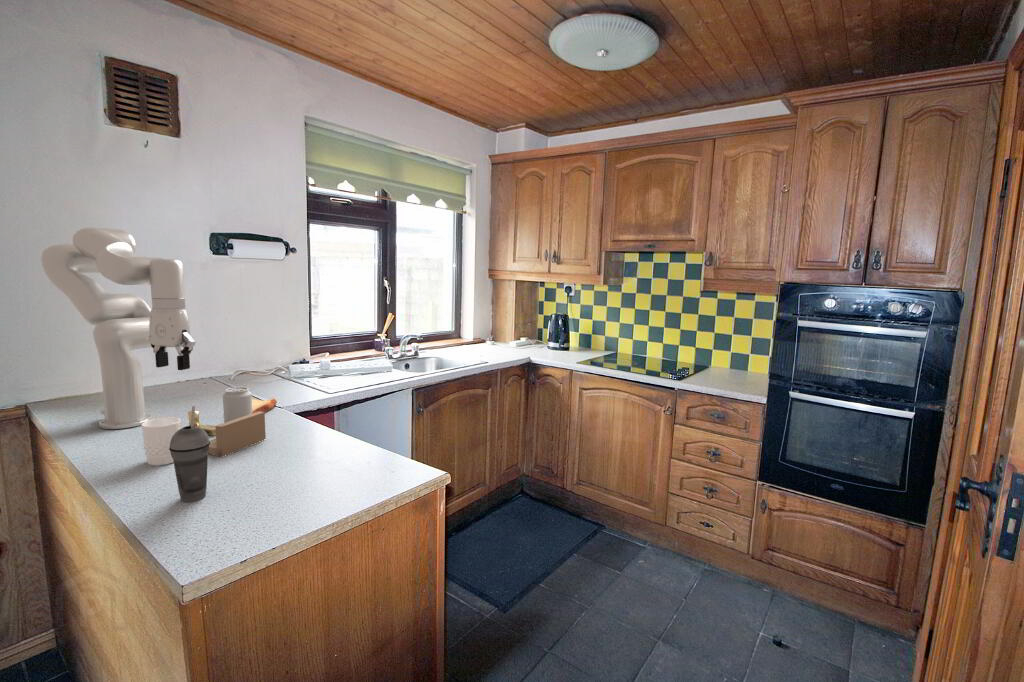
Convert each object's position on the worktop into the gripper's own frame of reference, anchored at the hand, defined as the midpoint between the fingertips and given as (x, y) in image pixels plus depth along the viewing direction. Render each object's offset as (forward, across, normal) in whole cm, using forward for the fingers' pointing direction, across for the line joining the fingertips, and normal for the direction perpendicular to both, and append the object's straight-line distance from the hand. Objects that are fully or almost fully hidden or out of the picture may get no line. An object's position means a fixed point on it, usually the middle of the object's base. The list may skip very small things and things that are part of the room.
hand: (173, 367), depth 138 cm
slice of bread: (+20, +1, +26) cm, 33 cm away
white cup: (+20, +14, -14) cm, 28 cm away
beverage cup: (+20, +38, -26) cm, 50 cm away
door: (+20, +13, 0) cm, 23 cm away
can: (+20, +10, +12) cm, 25 cm away
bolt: (+17, +10, 0) cm, 20 cm away
